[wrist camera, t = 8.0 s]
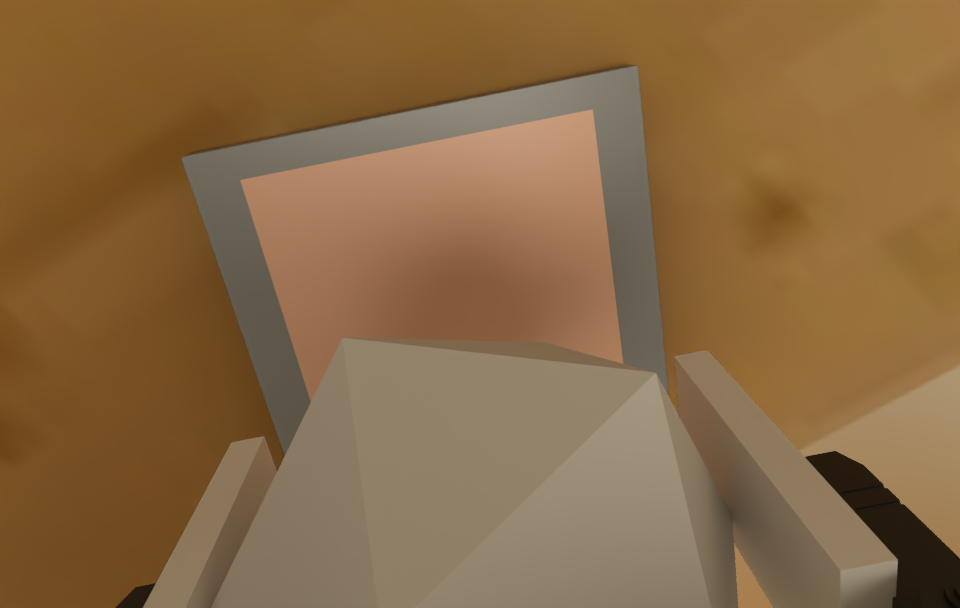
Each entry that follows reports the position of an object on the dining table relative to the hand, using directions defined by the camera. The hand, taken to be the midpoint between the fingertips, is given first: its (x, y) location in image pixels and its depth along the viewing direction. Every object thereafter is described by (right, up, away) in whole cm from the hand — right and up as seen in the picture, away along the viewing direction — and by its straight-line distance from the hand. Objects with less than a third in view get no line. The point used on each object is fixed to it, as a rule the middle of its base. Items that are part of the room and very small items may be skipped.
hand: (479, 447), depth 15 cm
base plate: (-1, +3, +8) cm, 9 cm away
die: (0, 0, 0) cm, 0 cm away
